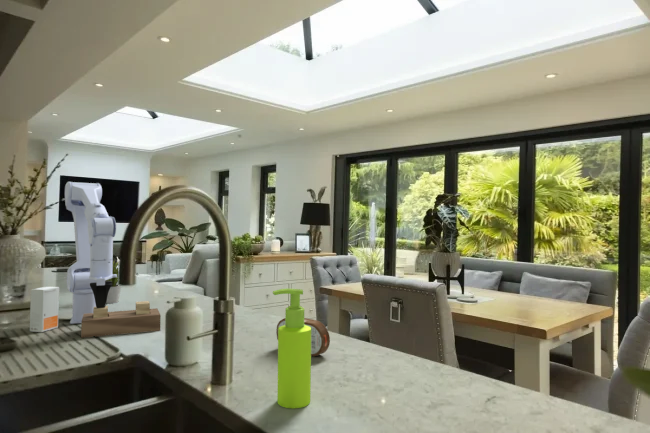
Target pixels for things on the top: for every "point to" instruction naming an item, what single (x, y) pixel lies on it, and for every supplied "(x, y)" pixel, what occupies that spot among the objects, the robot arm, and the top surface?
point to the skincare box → (44, 309)
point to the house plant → (114, 287)
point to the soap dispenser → (294, 355)
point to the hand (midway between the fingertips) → (100, 307)
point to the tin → (314, 335)
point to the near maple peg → (100, 312)
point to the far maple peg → (142, 307)
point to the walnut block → (120, 323)
